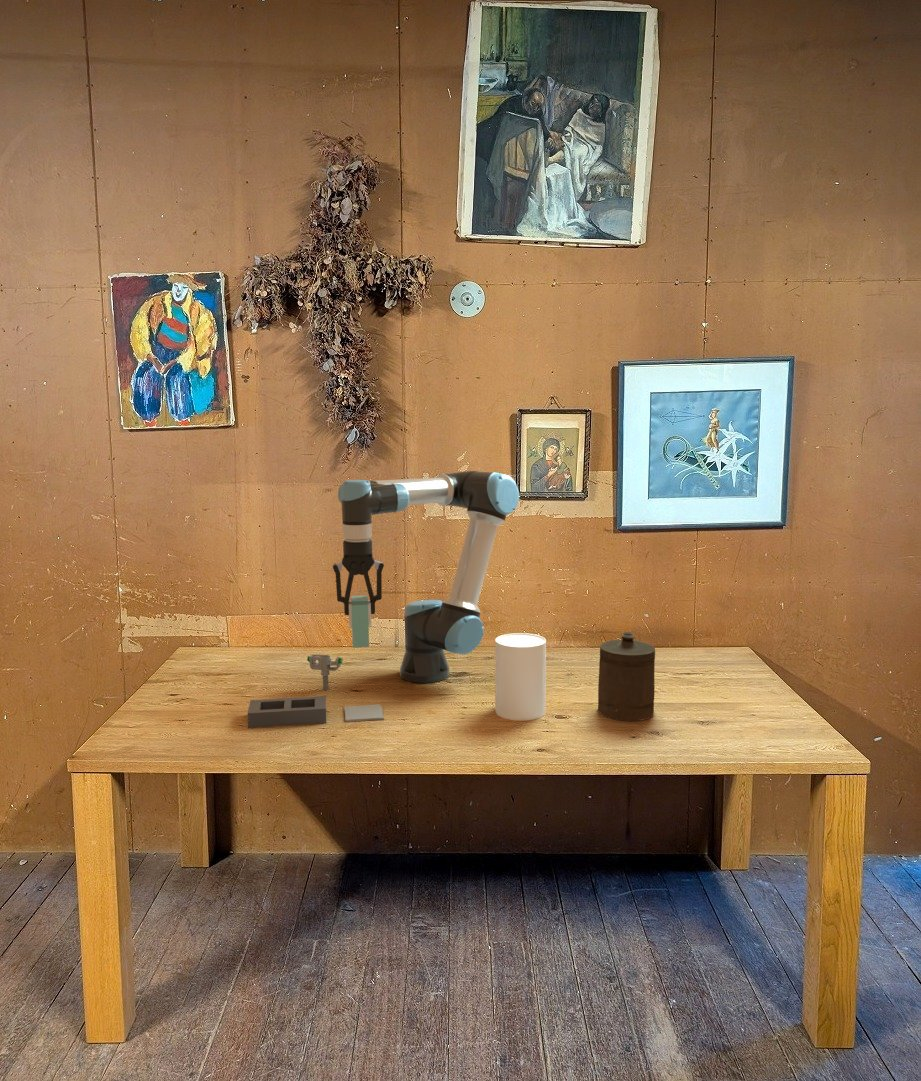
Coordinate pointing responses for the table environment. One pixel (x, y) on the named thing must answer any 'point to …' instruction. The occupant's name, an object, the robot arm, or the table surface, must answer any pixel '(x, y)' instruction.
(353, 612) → the plug
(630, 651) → the wooden container
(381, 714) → the mat
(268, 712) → the cinder block
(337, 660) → the mechanical component
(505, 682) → the canister
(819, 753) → the table surface
